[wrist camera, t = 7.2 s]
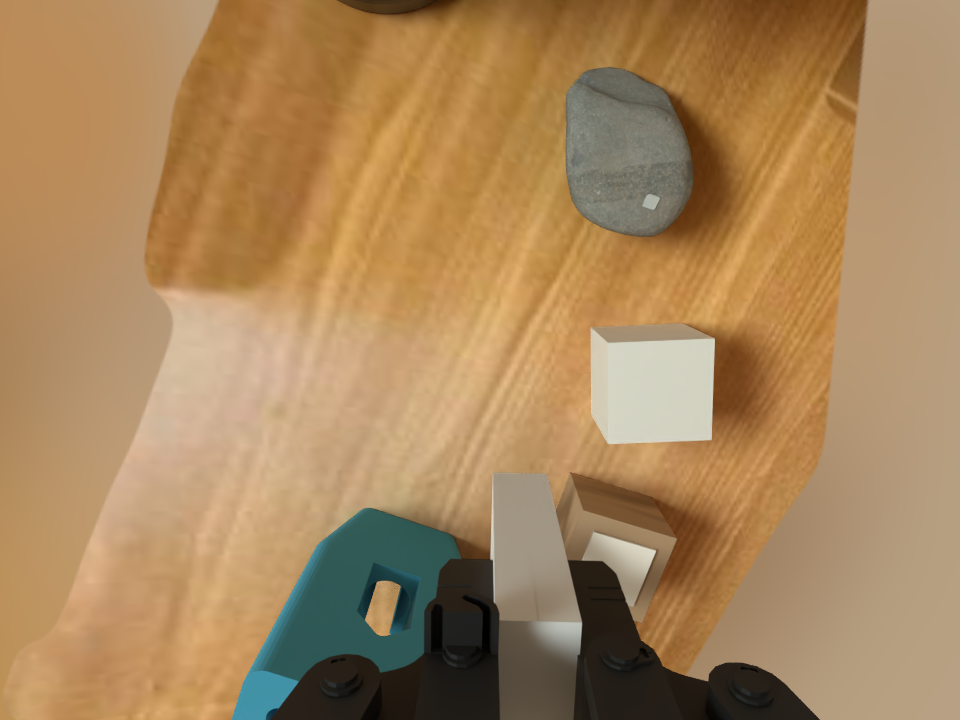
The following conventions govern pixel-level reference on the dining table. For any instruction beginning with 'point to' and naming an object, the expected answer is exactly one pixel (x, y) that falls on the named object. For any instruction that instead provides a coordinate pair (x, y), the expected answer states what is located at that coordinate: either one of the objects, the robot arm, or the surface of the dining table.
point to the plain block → (652, 383)
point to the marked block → (617, 535)
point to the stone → (626, 153)
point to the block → (349, 605)
